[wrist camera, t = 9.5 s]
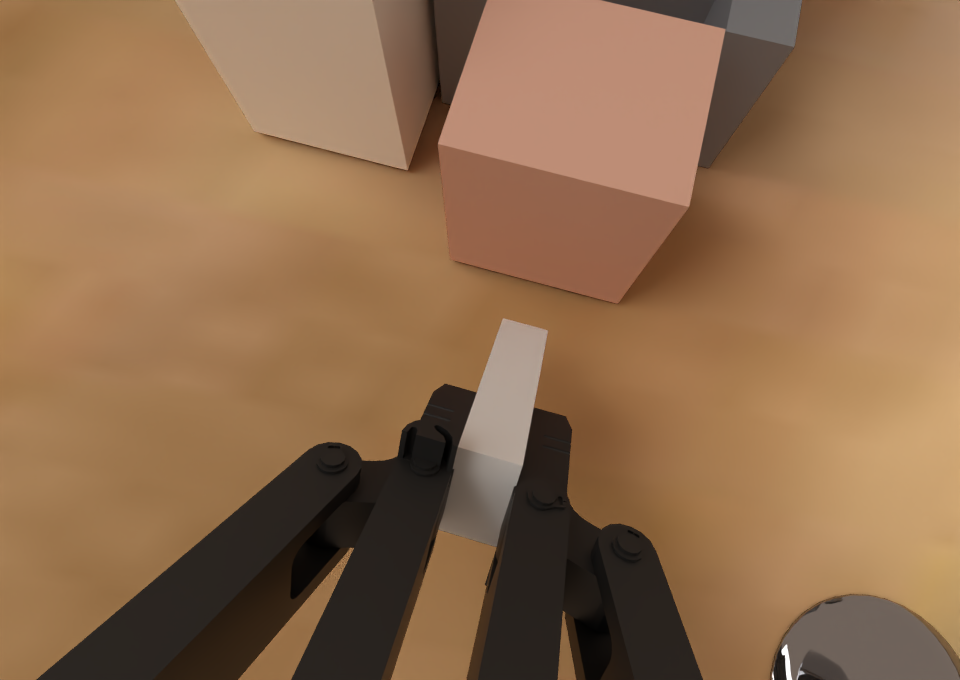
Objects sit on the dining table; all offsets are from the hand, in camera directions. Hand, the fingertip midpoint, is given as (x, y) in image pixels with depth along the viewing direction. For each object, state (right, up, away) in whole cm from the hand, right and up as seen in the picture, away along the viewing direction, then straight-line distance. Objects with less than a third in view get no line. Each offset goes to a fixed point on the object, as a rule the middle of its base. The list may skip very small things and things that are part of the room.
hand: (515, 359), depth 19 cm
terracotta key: (+2, +6, +5) cm, 8 cm away
